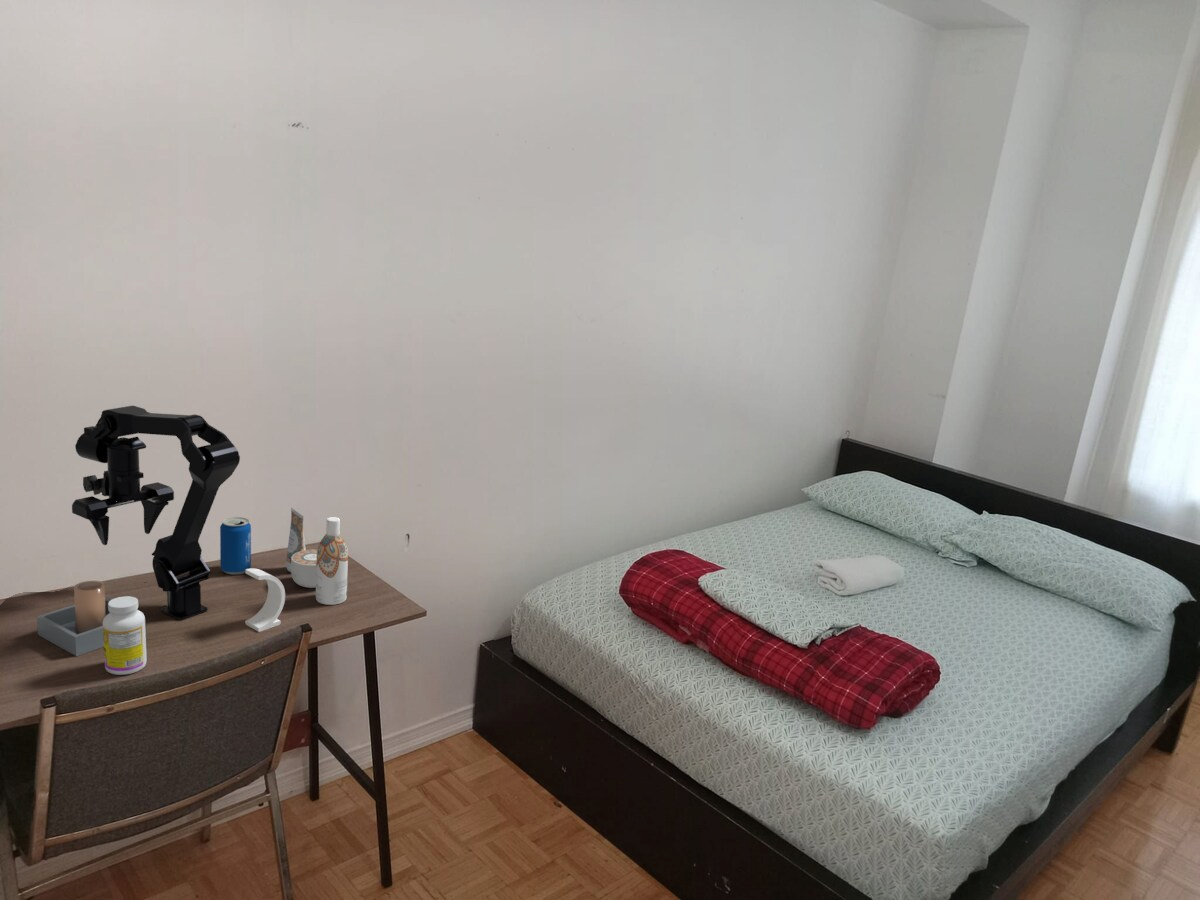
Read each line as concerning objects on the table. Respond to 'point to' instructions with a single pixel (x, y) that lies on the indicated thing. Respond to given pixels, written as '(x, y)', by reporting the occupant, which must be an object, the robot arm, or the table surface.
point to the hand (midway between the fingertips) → (126, 538)
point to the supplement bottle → (124, 637)
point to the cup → (89, 605)
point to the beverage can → (235, 545)
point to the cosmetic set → (319, 561)
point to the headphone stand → (267, 602)
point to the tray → (69, 631)
